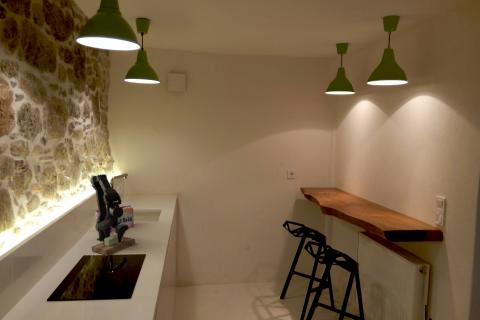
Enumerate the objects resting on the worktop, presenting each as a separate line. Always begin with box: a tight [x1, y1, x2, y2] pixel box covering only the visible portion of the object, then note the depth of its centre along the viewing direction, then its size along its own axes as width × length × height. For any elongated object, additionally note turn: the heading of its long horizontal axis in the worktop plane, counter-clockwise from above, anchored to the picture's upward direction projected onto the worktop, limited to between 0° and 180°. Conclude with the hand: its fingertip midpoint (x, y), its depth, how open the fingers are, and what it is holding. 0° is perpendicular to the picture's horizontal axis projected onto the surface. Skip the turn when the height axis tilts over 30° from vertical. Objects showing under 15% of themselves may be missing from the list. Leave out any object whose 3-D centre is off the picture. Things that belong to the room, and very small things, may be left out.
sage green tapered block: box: [103, 233, 123, 246], centre depth 195 cm, size 4×10×6 cm, turn 150°
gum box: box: [94, 205, 135, 234], centre depth 229 cm, size 24×8×14 cm, turn 125°
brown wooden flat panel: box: [91, 235, 136, 257], centre depth 195 cm, size 12×20×3 cm, turn 150°
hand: (113, 240), depth 194 cm, fingers open, 9 cm apart
